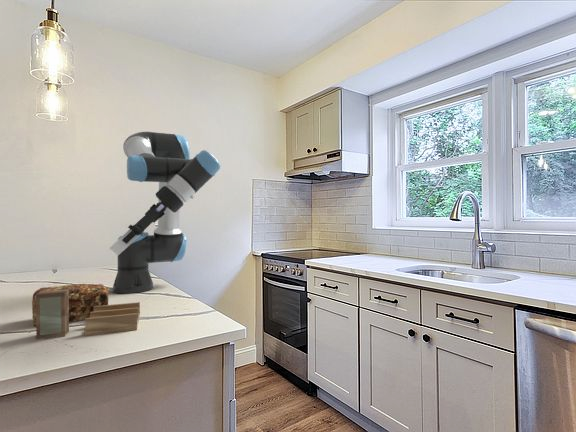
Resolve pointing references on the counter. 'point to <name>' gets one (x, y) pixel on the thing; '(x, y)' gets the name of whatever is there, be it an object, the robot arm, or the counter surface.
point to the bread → (78, 299)
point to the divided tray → (113, 318)
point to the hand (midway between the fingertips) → (116, 250)
